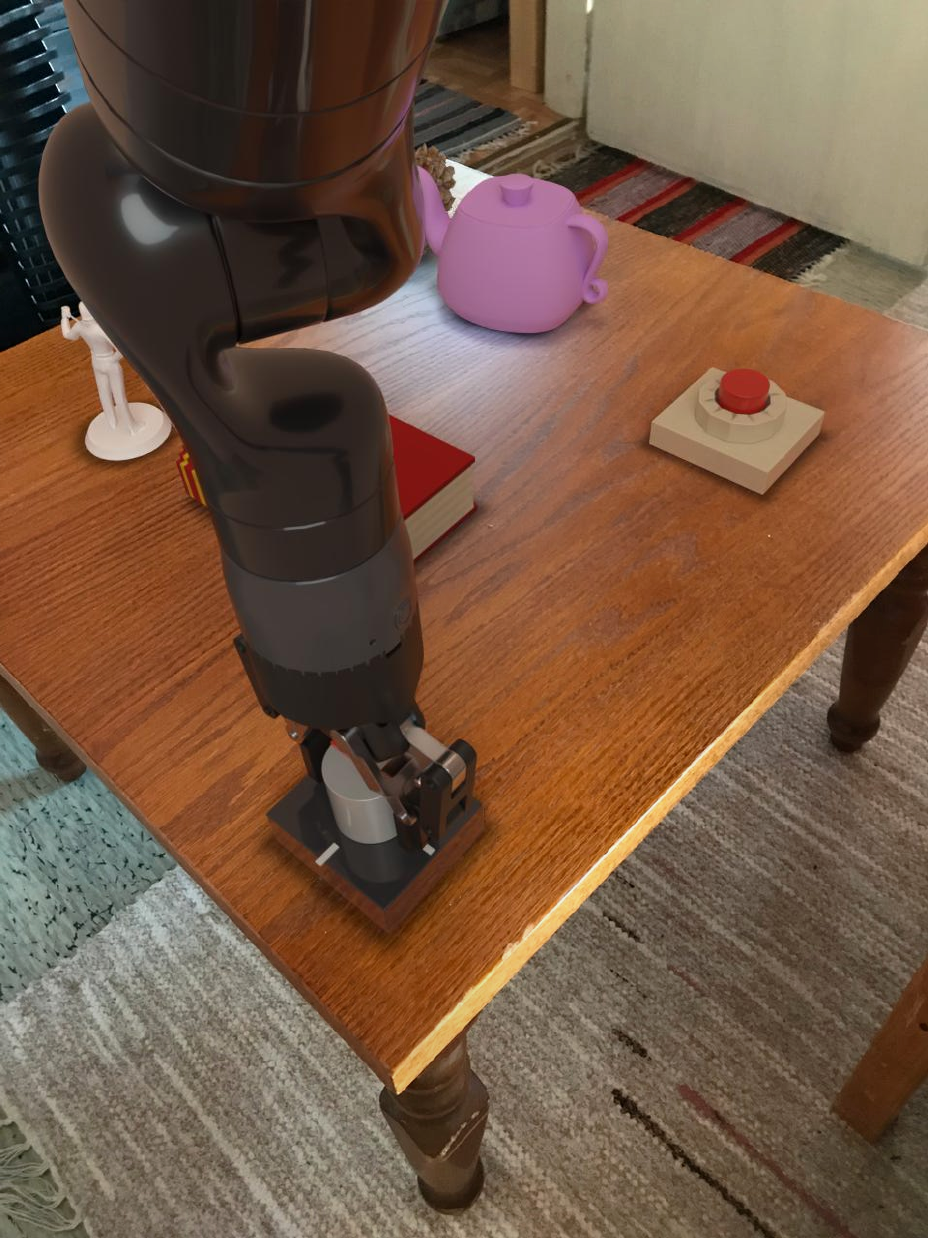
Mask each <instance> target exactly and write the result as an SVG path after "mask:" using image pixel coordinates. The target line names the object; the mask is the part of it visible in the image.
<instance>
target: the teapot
mask: <svg viewBox="0 0 928 1238" xmlns="http://www.w3.org/2000/svg"><path fill="white" fill-rule="evenodd" d="M418 171H419V176H420V181H421V186H422V191H423V197H424V205H425V235H426V239H427V241H428V244H429V246H430V248H429V249H430V250H431V251H432V253H433V254H434V256H435V257H436V258H437V259H438V260H437V261H438V263H437V271H436V286H437V290H438V294H439V296H440V297H441V299H442V301H443V302H444V303H445V304H446V306H447V307H448V308H449V309H450V310H451V311H452V312H453V313H454V314H455V315H457V316H459V317H460V318H462V319H464V320H466V321H468V322H470V323H472V324H475V325H478V326H480V327H483V328H487V329H490V330H495V331H500V332H506V333H517V334H518V333H520V334H536V333H538V334H539V333H545V332H549V331H552V330H554V329H556V328H558V327H560V326H561V325H562V324H564V323H565V322H566V321H567V320H568V319H570V317H571V316H572V315H573V314H574V313H575V312H576V311H577V309H578V308H579V307H580V306H581V305H582V303H583V302H585V303H587V304H589V305H596V304H597V305H598V304H600V303H603V302H604V301H605V300H606V299H607V298H608V295H609V292H610V291H609V290H610V287H609V284H608V283H607V281H606V280H605V279H604V278H602V277H597V275H598V273H599V271H600V270H601V267H602V265H603V263H604V260H605V258H606V255H607V253H608V250H609V249H608V248H609V234H608V231H607V229H606V227H605V226H604V224H602V222H600V220H599V219H597V218H596V217H594V216H593V215H590V214H587V213H584V211H583V209H582V207H581V205H580V203H579V201H578V199H577V197H576V196H575V194H574V192H572V191H571V190H570V189H569V188H567V187H565V186H563V185H560V184H557V183H555V182H551V181H548V180H545V179H540V178H535V177H532V176H529V175H528V174H523V173H511V174H507V175H500V176H499V175H497V176H493V177H487V178H485V179H484V180H482V181H480V182H479V183H477V184H476V185H474V187H473V188H472V189H470V190H469V191H468V192H467V193H466V194H465V195H464V196H463V197H462V199H461V200H460V201H459V203H458V205H457V207H456V209H455V211H454V213H453V215H452V217H451V216H450V215H449V214H448V212H446V210H445V208H444V205H443V202H442V199H441V196H440V193H439V190H438V187H437V185H436V183H435V181H434V179H433V178H432V176H431V175H430V174H429V173H428V172H427V171H426V170H425V169H423V168H421V167H420V166H418ZM594 287H595V288H596V289H597V290H595V289H594Z"/></svg>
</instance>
